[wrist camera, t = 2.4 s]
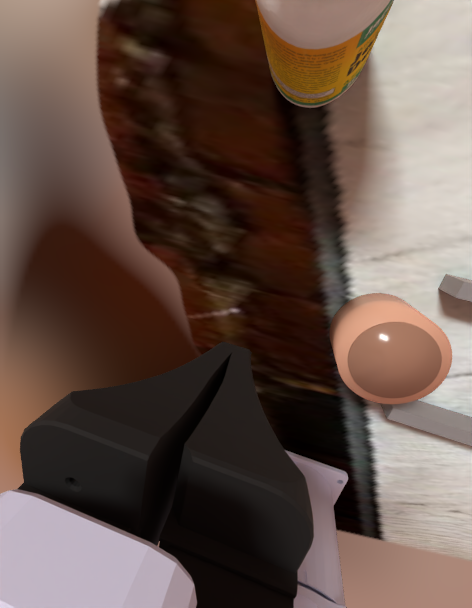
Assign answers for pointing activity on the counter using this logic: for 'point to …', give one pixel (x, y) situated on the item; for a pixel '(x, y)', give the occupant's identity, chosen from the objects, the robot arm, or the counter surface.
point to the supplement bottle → (319, 45)
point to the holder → (430, 415)
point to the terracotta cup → (388, 349)
